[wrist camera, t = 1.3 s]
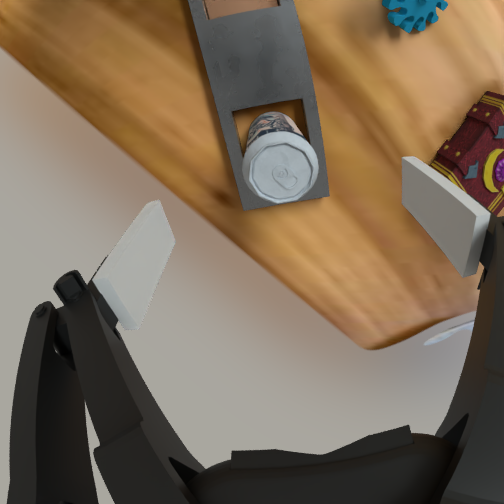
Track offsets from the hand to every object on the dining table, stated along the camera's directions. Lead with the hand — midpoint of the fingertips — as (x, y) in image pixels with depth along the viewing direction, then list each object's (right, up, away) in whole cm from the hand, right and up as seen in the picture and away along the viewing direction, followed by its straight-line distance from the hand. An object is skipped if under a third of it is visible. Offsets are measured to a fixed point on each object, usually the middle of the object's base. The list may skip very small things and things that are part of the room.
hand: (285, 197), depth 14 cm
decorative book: (+27, +10, +11) cm, 30 cm away
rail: (-1, +15, +8) cm, 17 cm away
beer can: (0, +9, +12) cm, 15 cm away
